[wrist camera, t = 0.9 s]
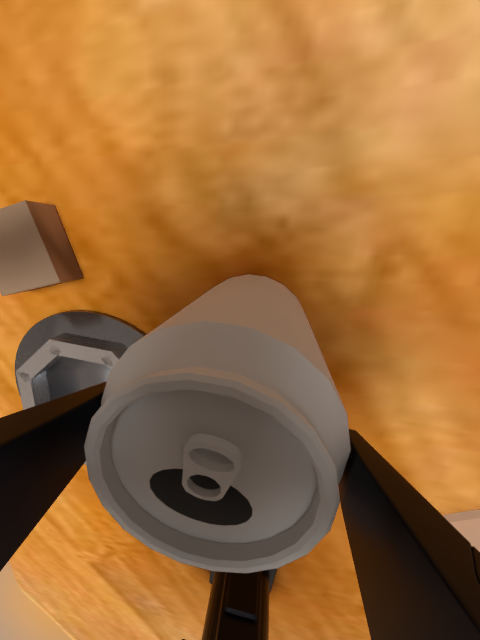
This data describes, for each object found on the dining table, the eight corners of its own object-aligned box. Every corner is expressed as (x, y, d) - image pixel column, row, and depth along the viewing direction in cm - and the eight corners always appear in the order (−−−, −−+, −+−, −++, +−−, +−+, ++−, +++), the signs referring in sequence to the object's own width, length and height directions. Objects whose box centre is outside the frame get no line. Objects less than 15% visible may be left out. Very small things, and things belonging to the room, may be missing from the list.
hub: (184, 484, 23) (177, 503, 21) (34, 447, 24) (16, 463, 22) (195, 329, 17) (187, 338, 16) (3, 295, 19) (-23, 300, 17)
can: (191, 355, 18) (52, 541, 7) (212, 259, 16) (47, 299, 4) (285, 385, 18) (302, 632, 6) (322, 290, 15) (455, 426, 4)
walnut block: (83, 277, 17) (60, 282, 16) (30, 290, 18) (2, 296, 17) (54, 205, 16) (25, 200, 14) (-2, 223, 17) (-36, 221, 15)
